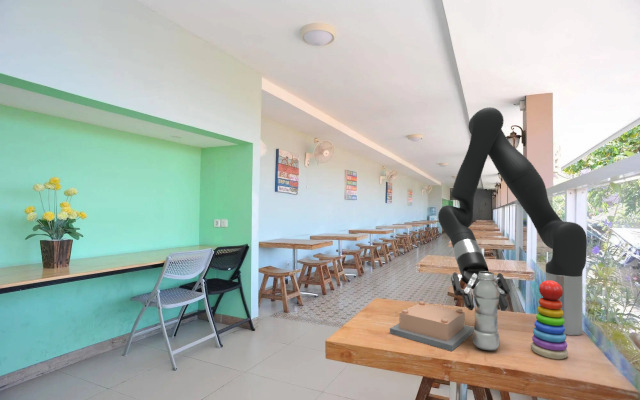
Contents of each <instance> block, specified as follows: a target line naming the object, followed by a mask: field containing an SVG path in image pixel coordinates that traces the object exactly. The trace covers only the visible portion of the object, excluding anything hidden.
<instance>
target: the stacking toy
mask: <svg viewBox="0 0 640 400" xmlns="http://www.w3.org/2000/svg"><path fill="white" fill-rule="evenodd" d="M538 292H539V294H540V295H541V296H542V297H541V298H539V299H538V304H539V305H538V307H537V312H538V313H536V316H535V317H536V320H535V321H534V328H533V330H532V332H533V335H532V337H531V340H532V342H531V344H530V348H531V350H532V351H533V352H534V353H536V354H537V355H539V356H542V357H544V358H548V359H553V360H554V359H555V360H561V359H562V360H563V359H566V358H568V356H569V350H568V349H567V348H568V343H567V341H566V340H567V334H564V332H565V327H564V325H563V324H564V322H565V321H564V318H563V317H562V316H563V314H564V313H563V311H562V310H561V309H560V308H562V303H561V301H559V300H558V299H560V298H561V296H562V294H563V289H562V287H561V286H560V285H559V284H558V283H557V282H555V281H551V280H547V281H546V280H544V281H542V282H541V283H540V284H539V287H538Z"/></svg>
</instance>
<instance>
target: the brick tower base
mask: <svg viewBox="0 0 640 400" xmlns="http://www.w3.org/2000/svg"><path fill="white" fill-rule="evenodd" d="M465 313H466V312H465V311H463V309H462V308H455V309H452V308H447V307H446V308H445V307H441V306H438V305H432V304H427V303H426V301H424V300H419V301H418V303H417V304H415V305H413V306H411V307H408V308H403V309H401V311H400V312H399V322H398V323H397V324H395V325H393V326H390V328H389V334H390V335H394V336H398V337H401V338H404V339H408V340H411V341H414V342H418V343H422V344H426V345H430V346H431V347H435V348H439V349H442V350H446V351H448V352H449V351H450V352H454V350H456V349H457V348H458V347H459V346H460V345H461V344H462V343H463V342H464V341H465V340H467V339H468V338H469V337H470V336H471V335H473V330H474V326H470V325H466V324H465V323H466V322H465V320H466V319H465V316H466V315H465ZM466 338H467V339H466Z"/></svg>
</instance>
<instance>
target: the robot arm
mask: <svg viewBox="0 0 640 400" xmlns="http://www.w3.org/2000/svg"><path fill="white" fill-rule="evenodd" d="M504 121H505V120H504V116H503V114H502V112H501V111H500V110H499V109H497V108H495V107H484V108H482V109H479V110H478V111H477V112H475V113H474V114H473V115H472V116H471V118H470V119H469V121H468V130H469V133H470V141H469V145H468V148H467V150H466V153H465V156H464V159H463V160H462V162H461V165H460V167H459V170H458V172H457V174H456V177H455V180H454V182H453V186H452V190H451V193H450V194H451V198H453V199H454V200H457V201H458V202H459V207H458V206H454V205H449V204H448V205H444V206H442V207H441V208H439V212H438V214H437V215H438V216H437V218H438V223H439V225H440V226H441V228H442V230H443V231H444V233H445V234H446V235H447V236H448V239H449V240H450V241H451V242H450V243H451V245H452V248H453V253H454V258H455V262H456V263H457V266H458V269H459V272H460V274H458V272H455V271H454V272H453V273H452V274H451V275H452V276H451V277H450V281H451V285H452V288H453V289H452V290H453V293H454V295H455V296H456V297H457V296H460V297H462V299H463V302H464V305H465V307H466V308H467V309H468V310H469V311H473V309H475V303H474V300H473V299H472V296H471V294H470V291H471V289H472V290H474V287H475V286H476V284H477V283H478V282H479V280H480V279H478V277H479V272H480V271H487V272H490V271H489V267H488V264H487V262H486V260H485V256H484V255H483V254H484V253H483V251H482V249H481V247H480V246H479V244H478V241H477V238H476V237H475V234H474V232H473V230H472V229H471V228H470V226H471V225H472V223H473V220H474V199H475V194H476V192H477V189H478V187H479V183H480V180H481V177H482V173H483V170H484V168H485V164H486V161H487V159H488V156H489V158H490V159H491V161H492V163H493V165H494V166H495V169H496V170H497V172H498V174H499V175H500V176H501V178H502V180H503V182H504V183H505V184H506V186H507V188H508V189H509V190H510V191H511V193H512V195H513V196H514V197H515V199H516V200H517V202H518V203H519V205H520V206H521V207H522V209H523V210H524V211H525V212H526V214H527V215H528V217H529V219H530V220H531V223H532V224H533V226H534V228H535V229H536V232H537V234H538V235H539V238H540V239H541V241H542V243H544V245H545V246H546V247H548V248H550V249H551V250H552V255H551V259H550V261H548V262H546V263H545V281H547V280H551V281H555V282H557V283H558V284H559V285H560V286H561V287H562V289H563V294H562V296H561V298H560V299H558V300H559V301H561V303H562V308H560V309H561V310H562V311H563V313H564V314H563V316H562V317H563V318H564V321H565V322H564V324H563V325H564V327H565V332H564V334H565V335H566V336H567V335H570V336H580V335H583V318H584V317H583V310H584V309H583V307H584V306H583V295H584V294H583V293H584V291H583V271H584V270H585V269H584V268H585V267H586V265H587V263H586V262H587V253H588V252H587V249H588V240H587V239H588V238H587V233H586V231H585V229H584V228H583V226H581V225H580V224H578V223H576V222H572V221H563V220H562V219H561V218H560V216H559V215H558V214H557V212H556V211H555V210H554V208H553V206H552V205H551V203H550V201H549V197H548V192H547V188H546V184H545V182H544V179H543V178H542V176H541V175H540V173H539V172H538V170H537V168H536V167H535V166H534V164H532V162H531V161H530V160H529V159H528V158H527V157H526V156H525V155H524V154H522V152H520V151H519V150H518V149H517V148H515V147H514V146H513V145H512V144H511V142H510V141H509V139H508V138H507V137H506V135H505V133H504V131H503V130H502V128H503V126H504ZM461 281H462V282H463V283H464V284H466V285H465V286H466V287H465V288H464V289H463V288H462V287H461V286H462V285H461ZM493 283H494V284H495V285H496V287H497V289H498V290H499V293H500V297H499V303H498V307H499V308H500V311H501V312H505V311H506V310H507V309H508V306H509V304H508V301H507V299H506V297H507V296H508V295H509V293H511V289H510V287H509V285H508V283H507V282H506V279H505V278H504V275H503V274H502V273H501V272H498V274H494V281H493Z"/></svg>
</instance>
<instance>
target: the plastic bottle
mask: <svg viewBox="0 0 640 400" xmlns="http://www.w3.org/2000/svg"><path fill="white" fill-rule="evenodd" d="M494 275H495V274H494V272H492V271H489V272H487V271H480V272H479V277H478V279H480V280H479V282H478V283H477V284H476V286H475V287H474V289H472V293H473V294H472V295H473V304H474V312H475V314H474V316H475V317H474V323H473V325H474V326H473V327H474V330H473V333H472V334H471V335H472V342H473V344H474V346H475V347H476V348H478V349H479V350H484V351H490V352H491V351H496V350H497V349H498V348H499V345H500V341H501V340H500V339H501V338H500V334H499V329H498V328H499V327H498V312H499V311H498V308H499V297H500V293H499V290H498V289H497V287H496V285H495V284H494V283H493V282H495V281H494Z"/></svg>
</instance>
